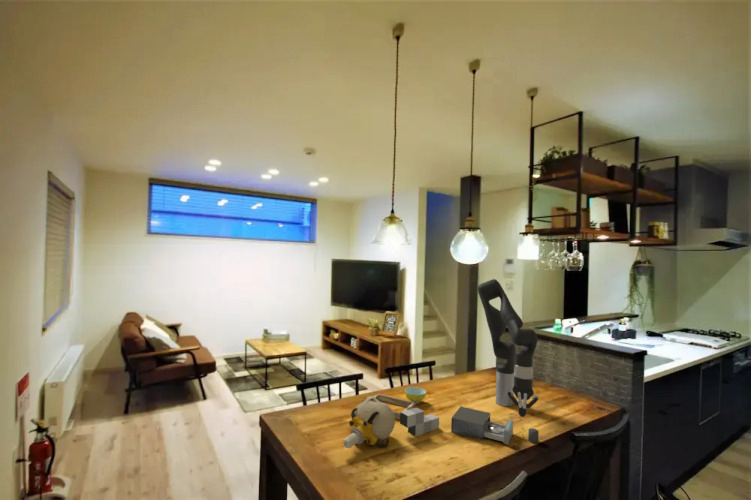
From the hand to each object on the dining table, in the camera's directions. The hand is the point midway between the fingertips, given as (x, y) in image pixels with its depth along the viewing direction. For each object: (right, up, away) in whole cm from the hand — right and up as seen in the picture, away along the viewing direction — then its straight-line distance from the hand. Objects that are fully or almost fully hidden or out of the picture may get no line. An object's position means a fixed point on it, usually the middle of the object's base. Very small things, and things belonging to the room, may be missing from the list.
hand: (522, 416), depth 158 cm
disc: (-10, -9, +5) cm, 15 cm away
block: (-43, -10, +7) cm, 45 cm away
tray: (-11, -11, +5) cm, 16 cm away
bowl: (-42, -11, +40) cm, 59 cm away
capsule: (+5, -11, +1) cm, 13 cm away
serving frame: (-56, -10, +30) cm, 65 cm away
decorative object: (-69, -9, -4) cm, 70 cm away
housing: (-19, -11, +10) cm, 25 cm away
